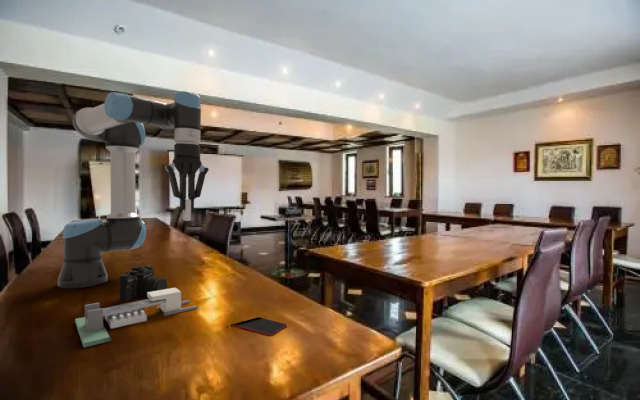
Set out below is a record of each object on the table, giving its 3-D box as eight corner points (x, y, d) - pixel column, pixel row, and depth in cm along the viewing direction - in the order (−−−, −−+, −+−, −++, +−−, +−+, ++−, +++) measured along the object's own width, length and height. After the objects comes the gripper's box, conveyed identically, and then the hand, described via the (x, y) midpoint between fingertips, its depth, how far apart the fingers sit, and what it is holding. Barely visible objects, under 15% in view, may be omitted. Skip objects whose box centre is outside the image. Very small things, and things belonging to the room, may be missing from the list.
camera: (145, 307, 100) (145, 274, 100) (113, 304, 102) (113, 272, 101) (173, 293, 114) (173, 264, 113) (145, 291, 115) (144, 262, 115)
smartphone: (271, 334, 81) (225, 321, 88) (270, 338, 81) (225, 325, 88) (288, 324, 87) (243, 313, 94) (287, 327, 87) (243, 316, 94)
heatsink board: (75, 322, 87) (75, 300, 87) (184, 300, 106) (184, 281, 106) (83, 347, 74) (83, 320, 74) (206, 317, 92) (207, 296, 92)
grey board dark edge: (92, 319, 81) (91, 315, 81) (89, 315, 84) (89, 310, 84) (164, 303, 92) (164, 299, 91) (160, 299, 95) (160, 295, 94)
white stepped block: (147, 311, 93) (147, 292, 93) (175, 306, 98) (175, 287, 98) (152, 317, 89) (152, 296, 89) (181, 310, 94) (181, 291, 94)
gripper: (169, 140, 96) (168, 222, 97) (212, 145, 104) (212, 220, 105) (161, 143, 101) (160, 220, 102) (203, 147, 110) (202, 218, 111)
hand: (186, 220), depth 104 cm, fingers closed
